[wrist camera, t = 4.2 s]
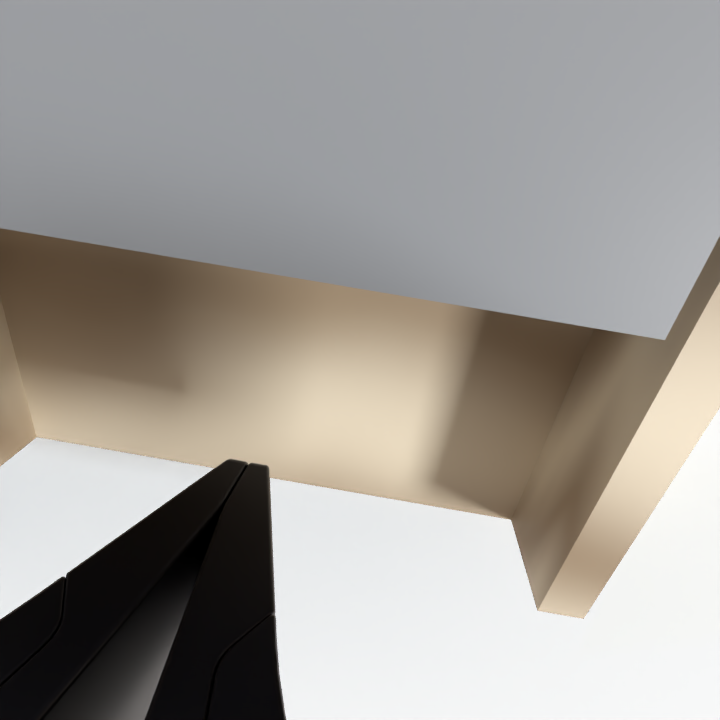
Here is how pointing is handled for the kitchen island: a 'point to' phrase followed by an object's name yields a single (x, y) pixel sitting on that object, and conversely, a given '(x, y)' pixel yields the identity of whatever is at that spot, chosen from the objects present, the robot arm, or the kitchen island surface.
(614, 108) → the slate block
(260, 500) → the robot arm
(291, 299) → the beige wooden tray
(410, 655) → the kitchen island surface
